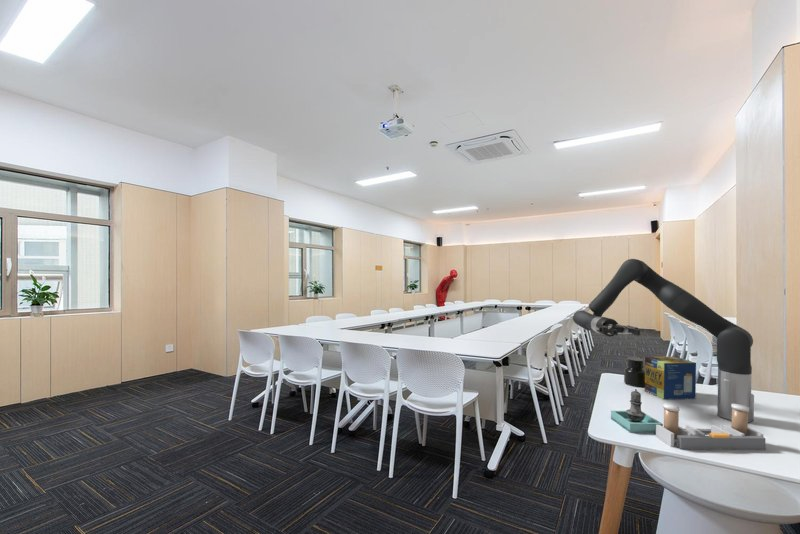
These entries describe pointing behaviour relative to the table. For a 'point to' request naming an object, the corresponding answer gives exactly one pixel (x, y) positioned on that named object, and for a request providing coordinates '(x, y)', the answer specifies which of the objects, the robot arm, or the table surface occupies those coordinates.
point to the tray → (644, 427)
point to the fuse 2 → (740, 418)
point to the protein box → (670, 377)
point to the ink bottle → (635, 372)
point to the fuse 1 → (671, 418)
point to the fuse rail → (712, 438)
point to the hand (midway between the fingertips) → (627, 332)
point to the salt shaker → (635, 408)
